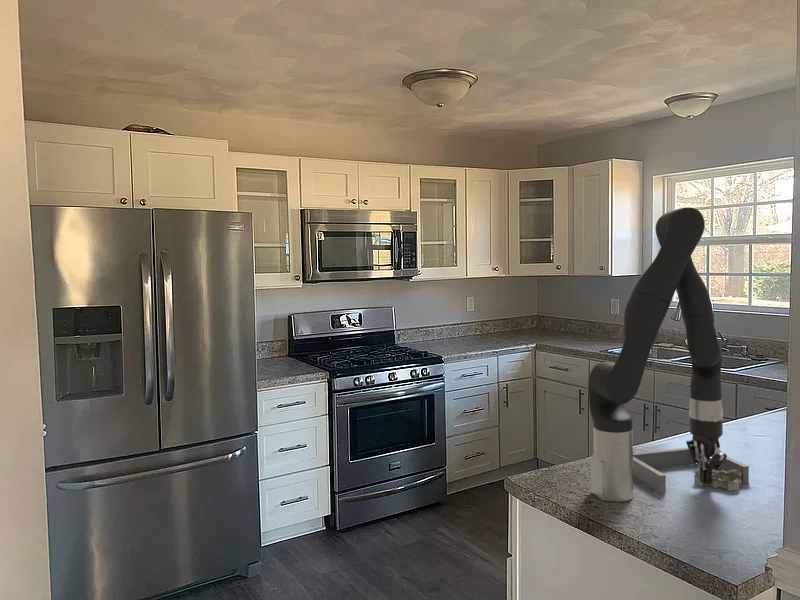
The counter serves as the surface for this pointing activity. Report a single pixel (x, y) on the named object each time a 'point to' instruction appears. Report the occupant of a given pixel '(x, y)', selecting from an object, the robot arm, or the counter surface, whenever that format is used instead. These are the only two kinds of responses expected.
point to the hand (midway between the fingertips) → (705, 483)
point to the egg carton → (722, 479)
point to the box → (673, 457)
